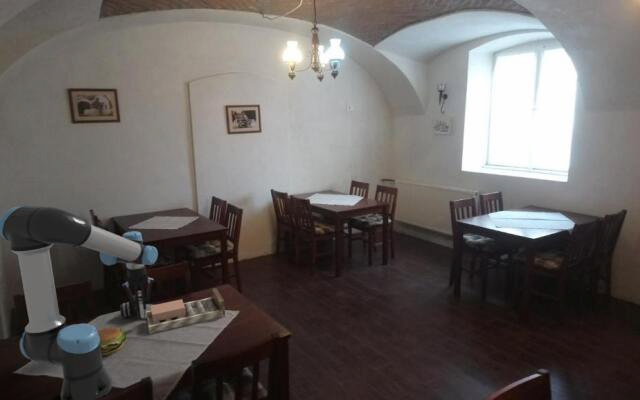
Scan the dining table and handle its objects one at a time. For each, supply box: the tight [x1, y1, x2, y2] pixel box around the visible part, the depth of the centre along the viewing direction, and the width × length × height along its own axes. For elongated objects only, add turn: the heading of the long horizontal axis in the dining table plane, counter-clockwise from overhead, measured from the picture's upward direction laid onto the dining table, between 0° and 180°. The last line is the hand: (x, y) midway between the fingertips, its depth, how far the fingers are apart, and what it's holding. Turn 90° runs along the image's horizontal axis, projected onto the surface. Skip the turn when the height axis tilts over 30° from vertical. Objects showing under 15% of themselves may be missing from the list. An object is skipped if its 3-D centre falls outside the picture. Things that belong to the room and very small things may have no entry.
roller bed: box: [145, 287, 226, 335], centre depth 193 cm, size 33×17×8 cm, turn 116°
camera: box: [119, 290, 146, 320], centre depth 197 cm, size 14×11×10 cm
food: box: [97, 326, 127, 357], centre depth 168 cm, size 14×14×8 cm
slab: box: [150, 298, 186, 322], centre depth 189 cm, size 14×10×4 cm
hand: (142, 316), depth 185 cm, fingers closed
